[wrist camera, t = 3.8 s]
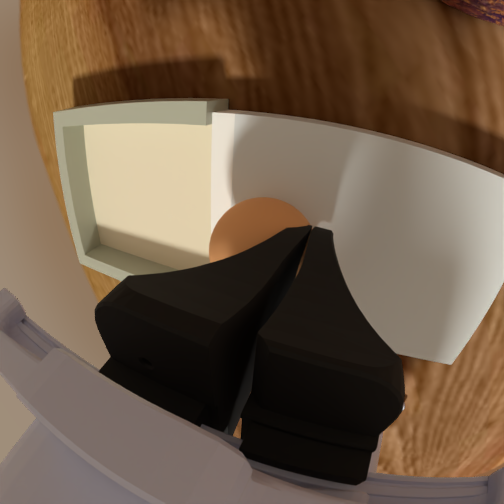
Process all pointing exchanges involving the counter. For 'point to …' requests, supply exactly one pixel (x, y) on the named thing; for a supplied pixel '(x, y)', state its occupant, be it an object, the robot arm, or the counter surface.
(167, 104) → the tray
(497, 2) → the bell
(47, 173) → the counter surface
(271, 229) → the ball
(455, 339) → the plate
